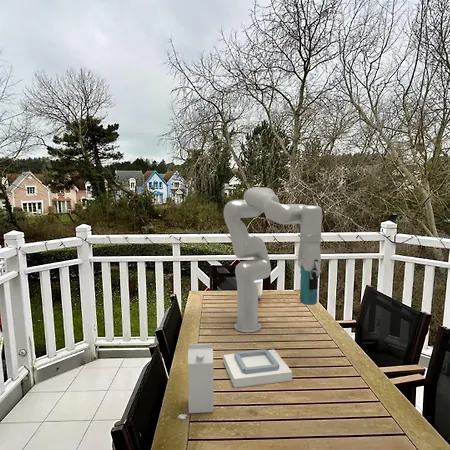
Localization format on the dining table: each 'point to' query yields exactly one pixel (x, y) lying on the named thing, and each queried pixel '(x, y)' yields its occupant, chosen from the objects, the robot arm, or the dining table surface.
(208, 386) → the milk carton
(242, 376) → the display stand
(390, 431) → the dining table surface
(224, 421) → the dining table surface
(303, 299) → the beverage bottle
